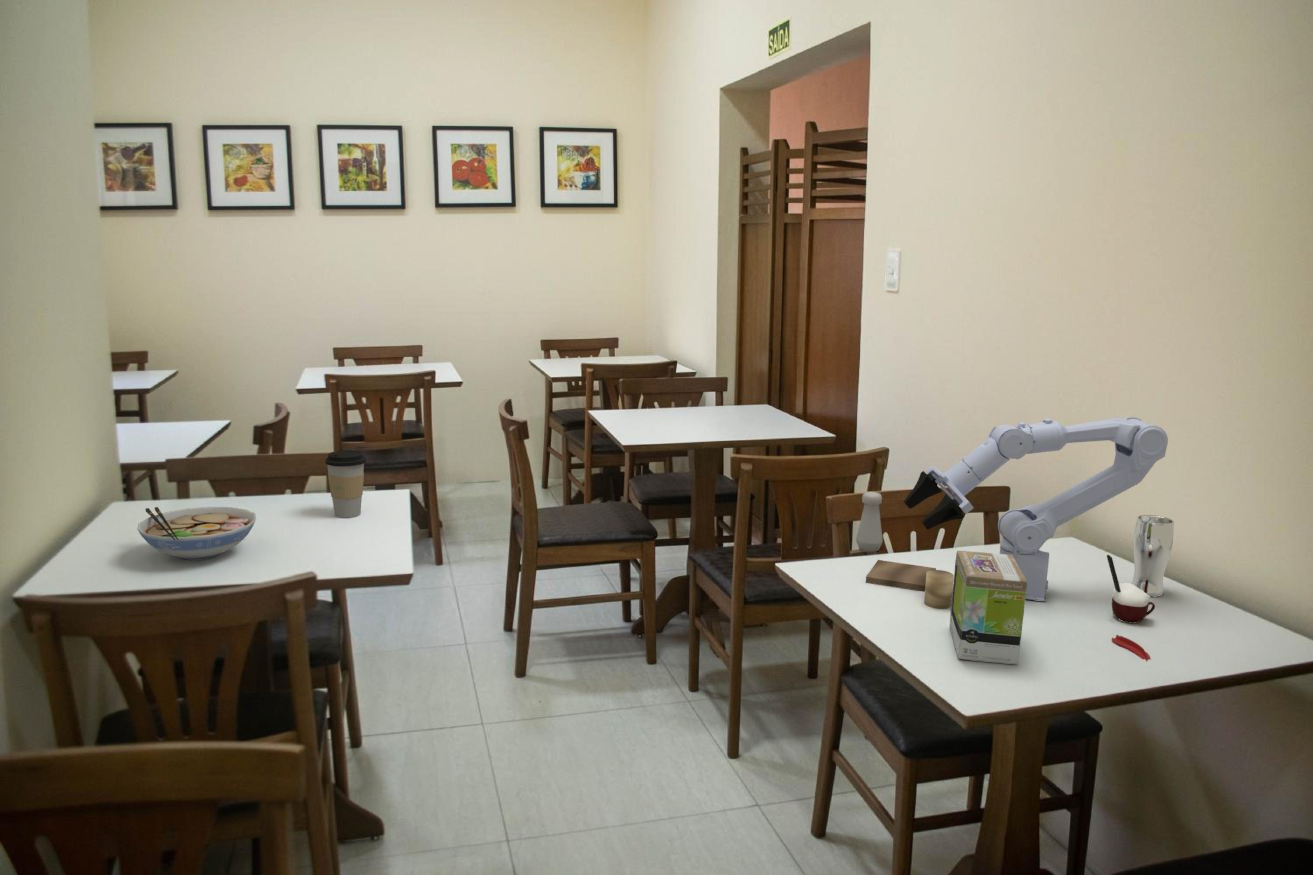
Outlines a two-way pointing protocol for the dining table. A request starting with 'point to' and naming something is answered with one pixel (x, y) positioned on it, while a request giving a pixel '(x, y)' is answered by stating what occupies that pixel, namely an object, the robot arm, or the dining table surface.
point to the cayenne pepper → (1131, 647)
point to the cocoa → (1128, 599)
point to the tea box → (987, 607)
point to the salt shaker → (870, 523)
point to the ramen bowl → (196, 530)
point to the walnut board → (898, 575)
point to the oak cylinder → (938, 589)
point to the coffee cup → (346, 481)
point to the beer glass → (1151, 552)
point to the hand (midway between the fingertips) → (915, 515)
